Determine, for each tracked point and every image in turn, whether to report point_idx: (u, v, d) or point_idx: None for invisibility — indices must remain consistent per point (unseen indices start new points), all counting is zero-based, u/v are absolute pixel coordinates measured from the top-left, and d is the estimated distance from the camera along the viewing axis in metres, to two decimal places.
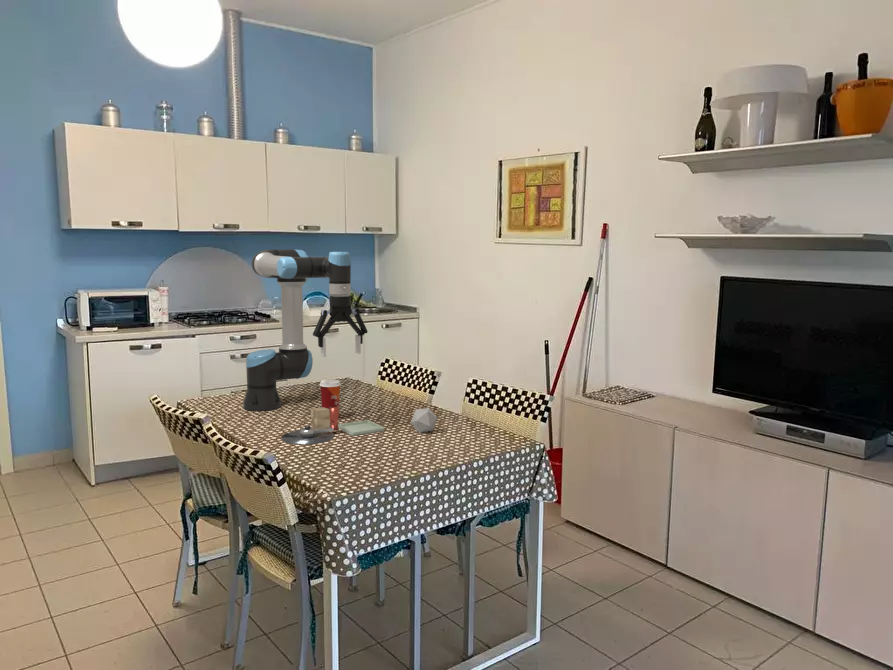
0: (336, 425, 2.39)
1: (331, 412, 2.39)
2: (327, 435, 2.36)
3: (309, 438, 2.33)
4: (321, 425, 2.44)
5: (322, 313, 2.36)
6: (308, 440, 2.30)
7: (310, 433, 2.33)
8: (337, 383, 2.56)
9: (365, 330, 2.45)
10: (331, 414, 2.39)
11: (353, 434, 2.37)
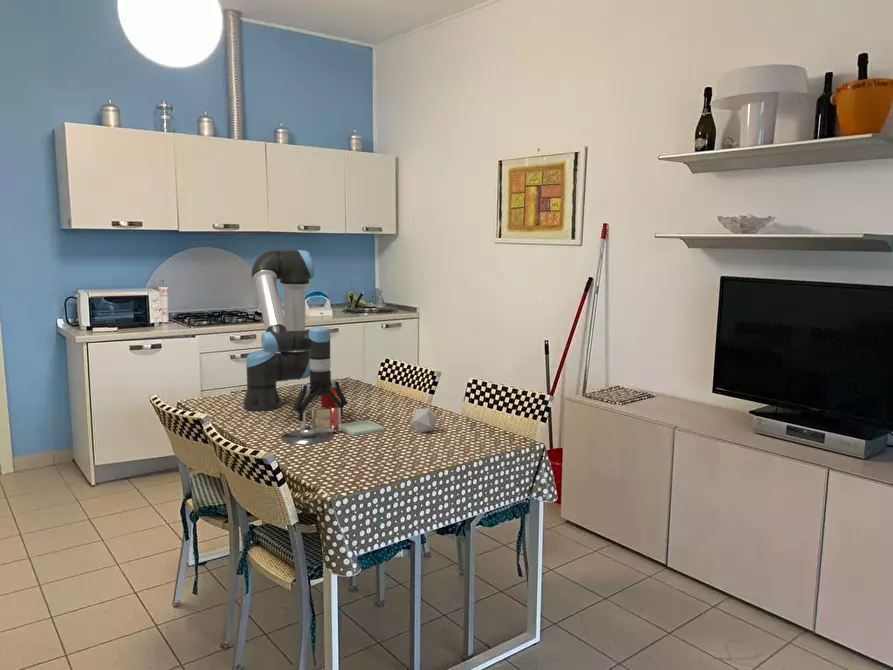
0: (336, 425, 2.39)
1: (331, 412, 2.39)
2: (327, 435, 2.36)
3: (309, 438, 2.33)
4: (321, 425, 2.44)
5: (302, 388, 2.41)
6: (308, 440, 2.30)
7: (310, 433, 2.33)
8: None
9: (345, 402, 2.50)
10: (331, 414, 2.39)
11: (353, 434, 2.37)
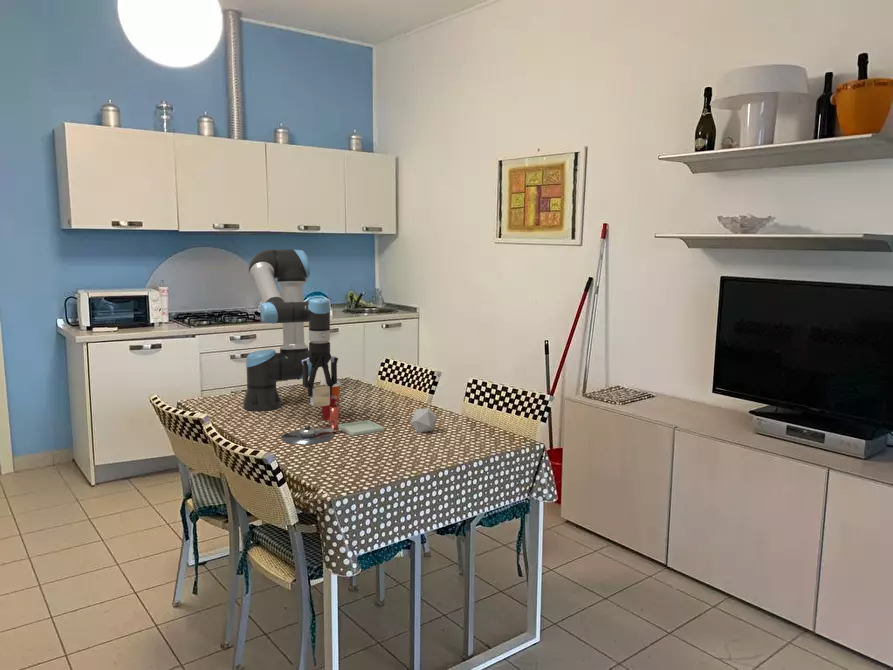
0: (336, 425, 2.39)
1: (331, 412, 2.39)
2: (327, 435, 2.36)
3: (309, 438, 2.33)
4: (320, 402, 2.44)
5: (303, 364, 2.40)
6: (308, 440, 2.30)
7: (310, 433, 2.33)
8: (337, 383, 2.56)
9: (335, 381, 2.47)
10: (331, 414, 2.39)
11: (353, 434, 2.37)
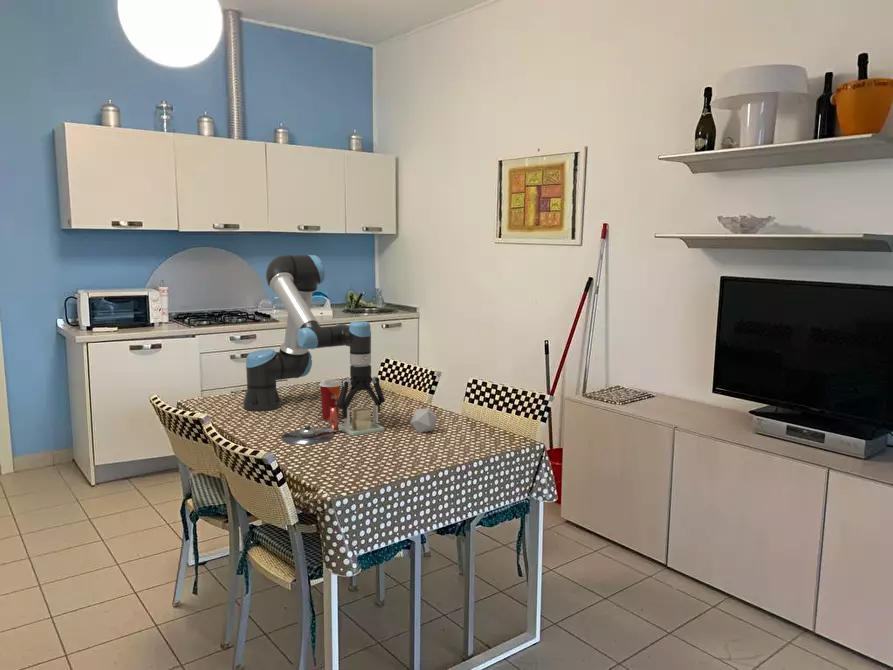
0: (336, 425, 2.39)
1: (331, 412, 2.39)
2: (327, 435, 2.36)
3: (309, 438, 2.33)
4: (362, 426, 2.42)
5: (343, 384, 2.39)
6: (308, 440, 2.30)
7: (310, 433, 2.33)
8: (337, 383, 2.56)
9: (382, 400, 2.48)
10: (331, 414, 2.39)
11: (353, 434, 2.37)
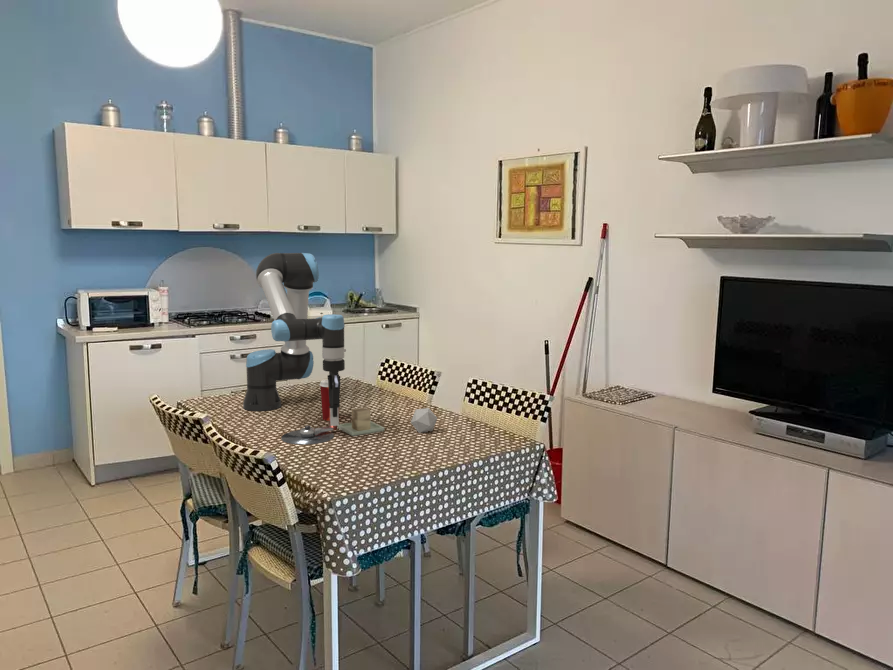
0: None
1: None
2: (327, 435, 2.36)
3: (309, 438, 2.33)
4: (362, 426, 2.42)
5: (337, 386, 2.30)
6: (308, 440, 2.30)
7: (310, 433, 2.33)
8: None
9: None
10: None
11: (353, 434, 2.37)
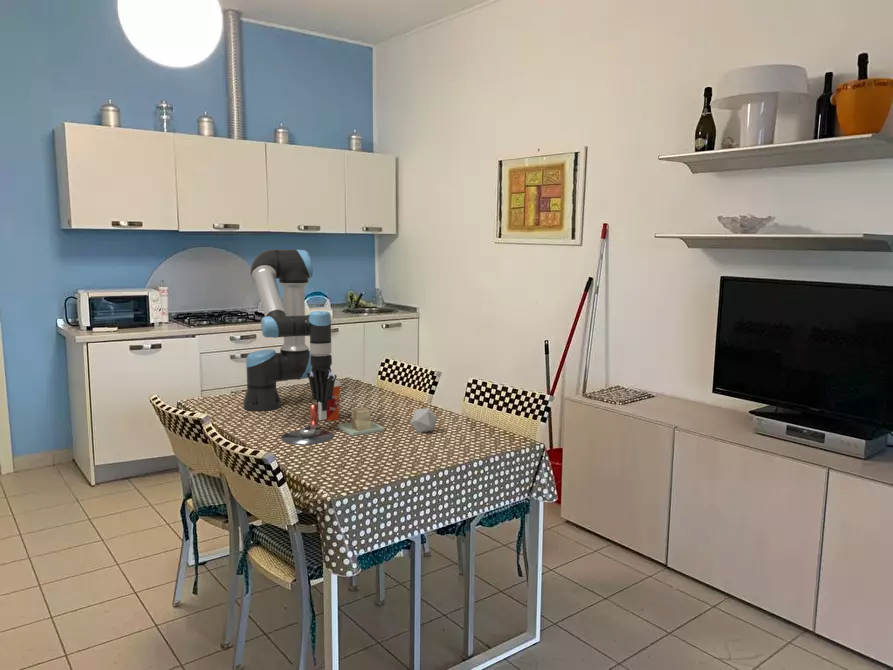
0: (317, 421, 2.45)
1: (314, 409, 2.43)
2: (327, 435, 2.36)
3: (309, 438, 2.33)
4: (362, 426, 2.42)
5: (333, 379, 2.38)
6: (308, 440, 2.30)
7: (314, 431, 2.35)
8: (337, 383, 2.56)
9: None
10: (314, 411, 2.43)
11: (353, 434, 2.37)
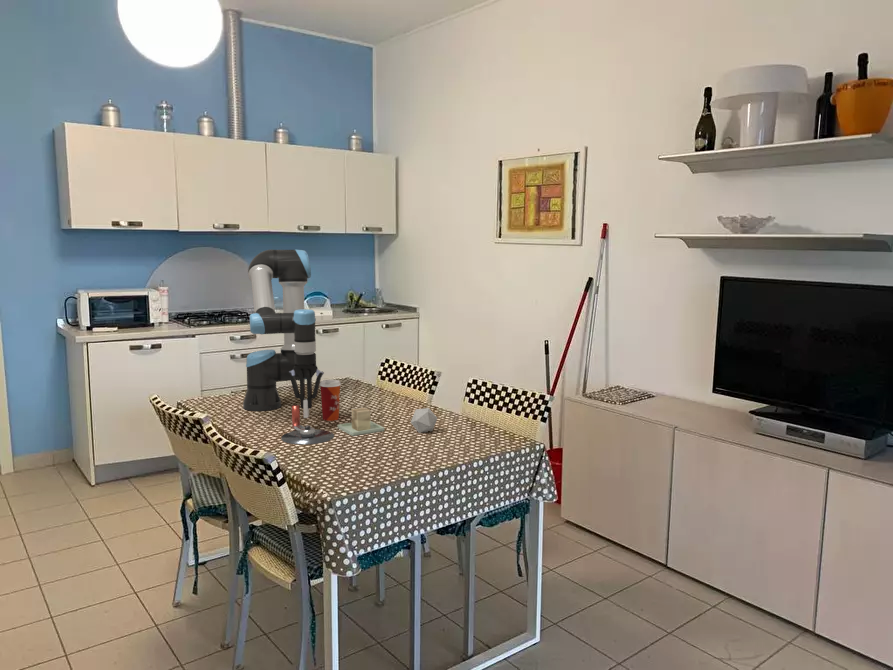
0: None
1: (298, 410, 2.42)
2: (327, 435, 2.36)
3: (309, 438, 2.33)
4: (362, 426, 2.42)
5: (321, 376, 2.42)
6: (308, 440, 2.30)
7: None
8: (337, 383, 2.56)
9: None
10: (298, 412, 2.42)
11: (353, 434, 2.37)
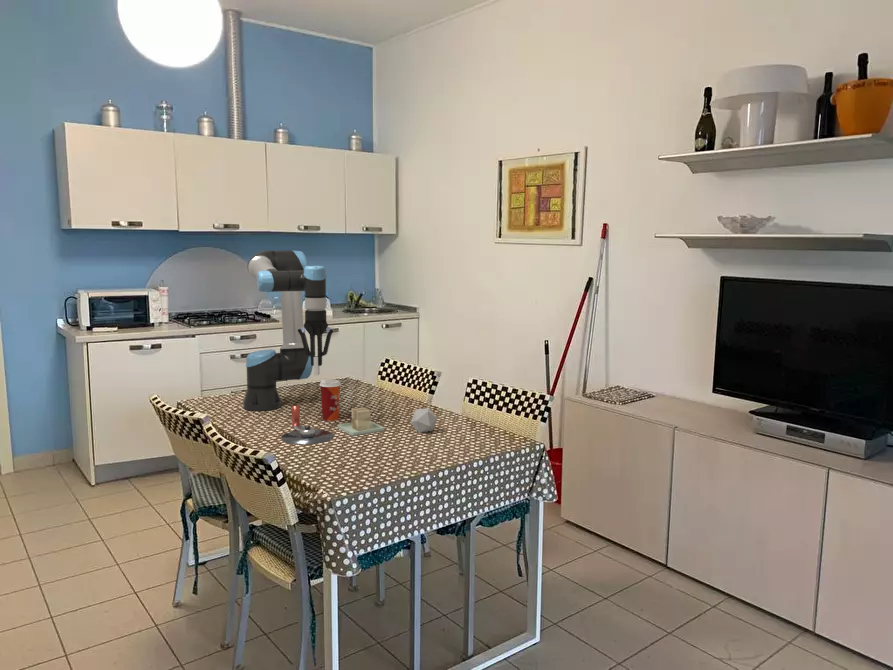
0: None
1: (298, 410, 2.42)
2: (327, 435, 2.36)
3: (309, 438, 2.33)
4: (362, 426, 2.42)
5: None
6: (308, 440, 2.30)
7: None
8: (337, 383, 2.56)
9: None
10: (298, 412, 2.42)
11: (353, 434, 2.37)
